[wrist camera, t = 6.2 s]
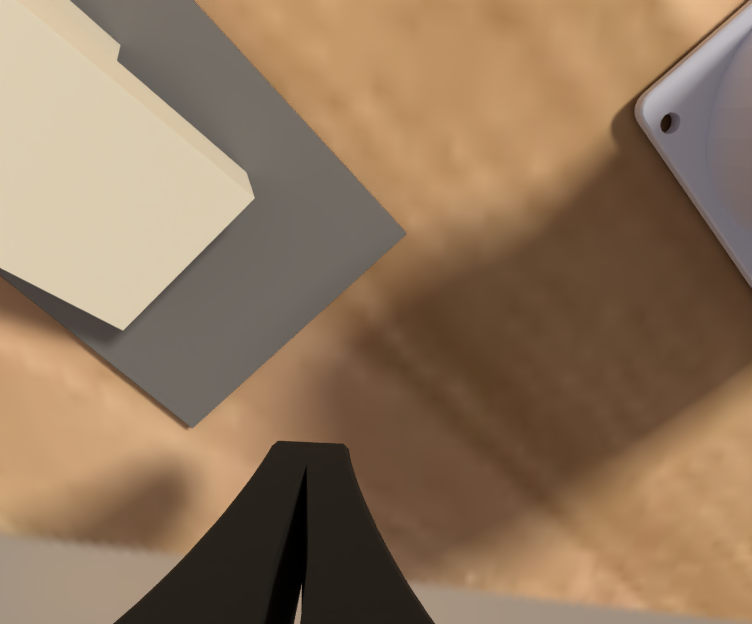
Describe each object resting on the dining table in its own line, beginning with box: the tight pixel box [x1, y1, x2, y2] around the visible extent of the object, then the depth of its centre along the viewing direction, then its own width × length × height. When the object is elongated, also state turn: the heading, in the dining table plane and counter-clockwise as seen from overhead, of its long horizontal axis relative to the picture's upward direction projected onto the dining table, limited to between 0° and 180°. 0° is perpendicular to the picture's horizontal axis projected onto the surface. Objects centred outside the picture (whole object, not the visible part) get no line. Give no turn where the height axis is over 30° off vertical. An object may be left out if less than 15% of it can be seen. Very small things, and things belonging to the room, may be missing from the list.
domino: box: [0, 0, 255, 330], centre depth 11 cm, size 2×5×8 cm
